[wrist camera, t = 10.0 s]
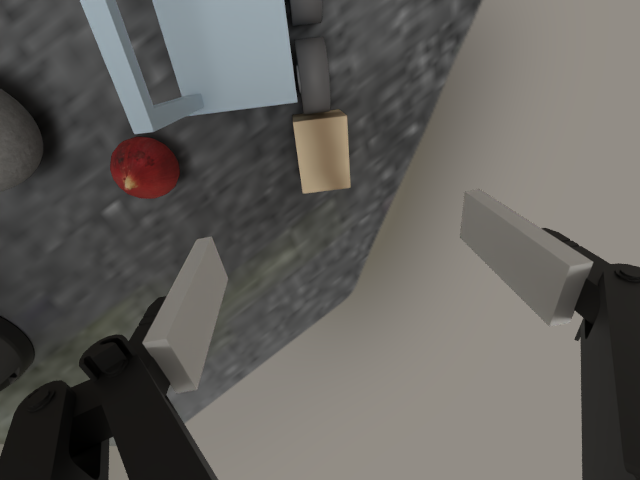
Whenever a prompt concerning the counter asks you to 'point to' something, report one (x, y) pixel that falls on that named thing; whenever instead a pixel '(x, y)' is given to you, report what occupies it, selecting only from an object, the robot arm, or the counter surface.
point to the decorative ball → (17, 143)
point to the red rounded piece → (144, 167)
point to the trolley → (217, 58)
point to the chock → (322, 150)
